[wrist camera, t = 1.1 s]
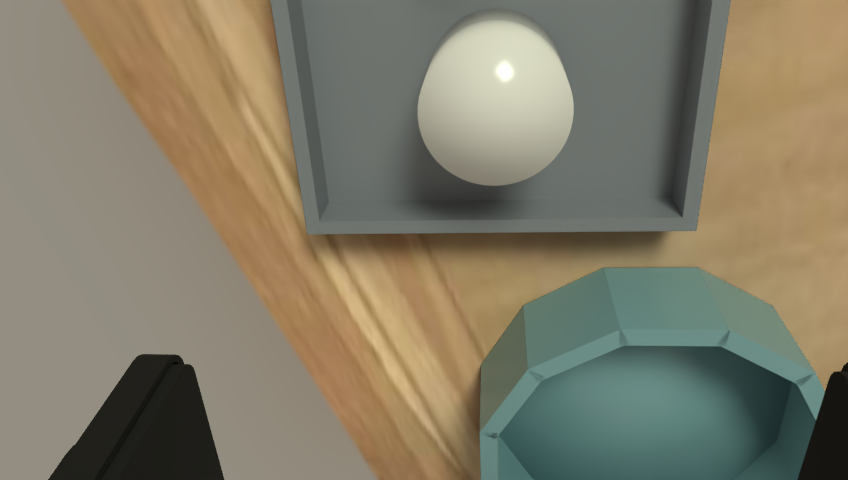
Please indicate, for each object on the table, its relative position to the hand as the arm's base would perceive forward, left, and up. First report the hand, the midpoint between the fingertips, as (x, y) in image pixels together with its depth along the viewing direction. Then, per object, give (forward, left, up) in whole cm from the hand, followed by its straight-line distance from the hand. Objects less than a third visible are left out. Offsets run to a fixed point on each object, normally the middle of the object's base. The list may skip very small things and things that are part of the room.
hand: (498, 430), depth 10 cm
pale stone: (0, 0, -19) cm, 19 cm away
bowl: (-7, +17, -20) cm, 27 cm away
